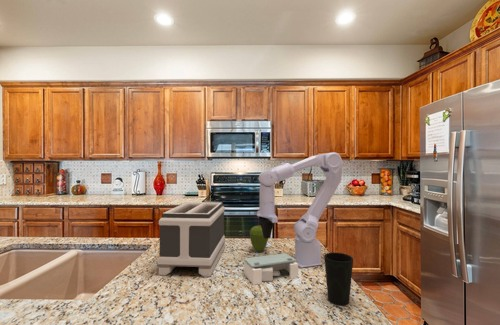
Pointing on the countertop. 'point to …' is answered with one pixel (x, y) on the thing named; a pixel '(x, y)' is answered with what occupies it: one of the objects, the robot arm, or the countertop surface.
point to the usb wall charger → (268, 273)
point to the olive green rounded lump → (258, 238)
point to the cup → (338, 277)
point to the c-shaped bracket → (256, 273)
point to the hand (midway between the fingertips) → (266, 237)
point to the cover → (269, 260)
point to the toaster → (192, 237)
